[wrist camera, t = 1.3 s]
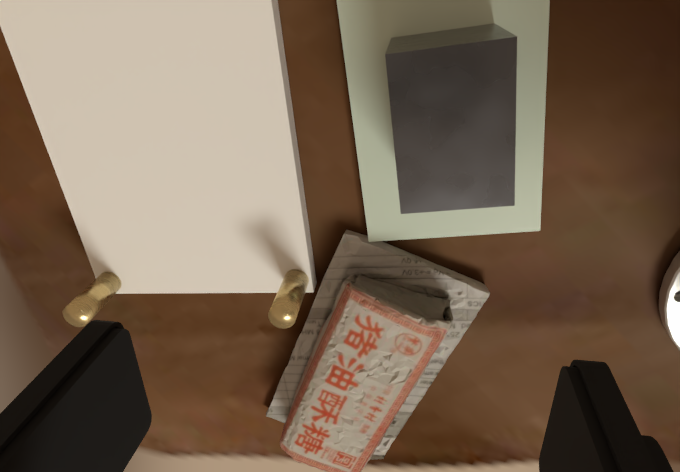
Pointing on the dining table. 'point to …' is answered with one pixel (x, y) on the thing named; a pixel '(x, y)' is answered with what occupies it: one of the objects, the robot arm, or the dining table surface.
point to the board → (378, 113)
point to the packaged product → (369, 352)
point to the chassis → (170, 144)
